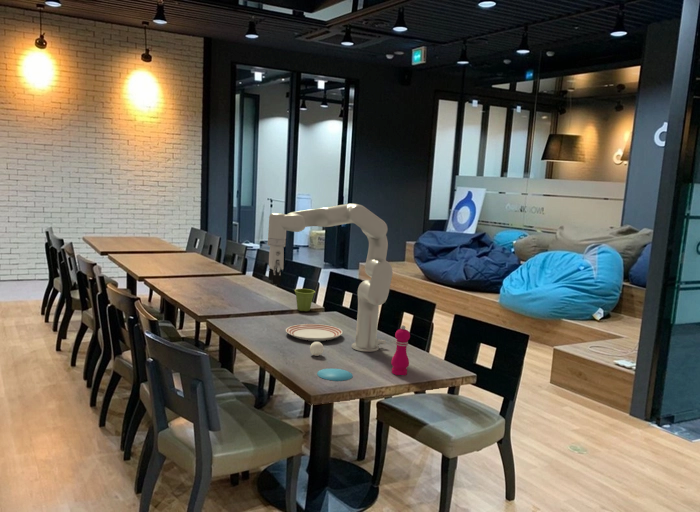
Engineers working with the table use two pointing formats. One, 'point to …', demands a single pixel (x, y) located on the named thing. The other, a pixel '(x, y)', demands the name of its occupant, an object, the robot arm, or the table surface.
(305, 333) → the dinner plate
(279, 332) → the table surface
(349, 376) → the disc
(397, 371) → the pepper mill
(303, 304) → the plant pot
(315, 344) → the ball
